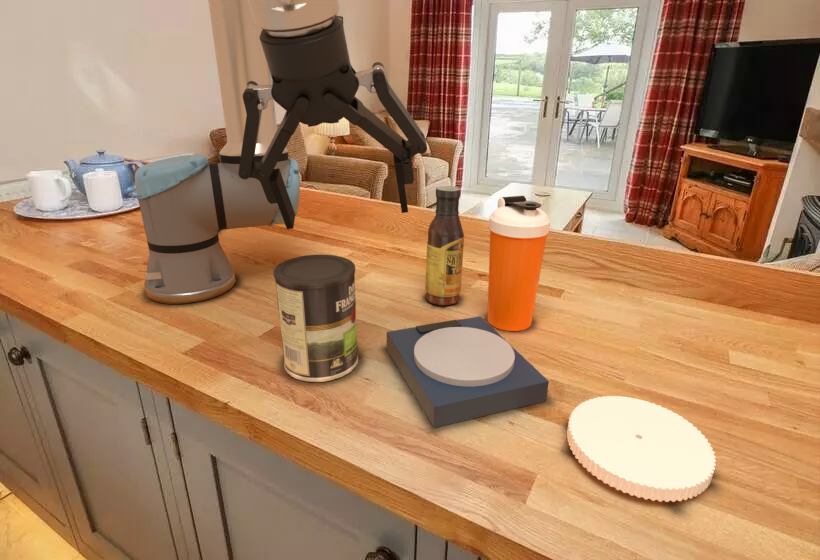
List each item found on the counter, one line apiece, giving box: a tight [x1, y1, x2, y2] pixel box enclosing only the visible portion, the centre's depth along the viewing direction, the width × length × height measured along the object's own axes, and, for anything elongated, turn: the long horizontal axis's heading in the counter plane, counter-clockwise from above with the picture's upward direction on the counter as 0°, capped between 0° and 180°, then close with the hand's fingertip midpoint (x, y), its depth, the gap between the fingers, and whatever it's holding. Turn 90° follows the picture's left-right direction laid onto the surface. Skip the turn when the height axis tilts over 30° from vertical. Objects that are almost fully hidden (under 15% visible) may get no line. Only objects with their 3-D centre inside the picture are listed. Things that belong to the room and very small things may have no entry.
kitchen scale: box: [386, 315, 550, 429], centre depth 65 cm, size 18×15×4 cm
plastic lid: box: [566, 395, 717, 503], centre depth 52 cm, size 14×14×2 cm
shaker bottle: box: [487, 195, 551, 332], centre depth 76 cm, size 9×9×20 cm
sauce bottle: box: [424, 185, 465, 306], centre depth 83 cm, size 7×6×20 cm
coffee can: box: [272, 254, 359, 383], centre depth 66 cm, size 10×10×14 cm
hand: (347, 214), depth 58 cm, fingers open, 13 cm apart
